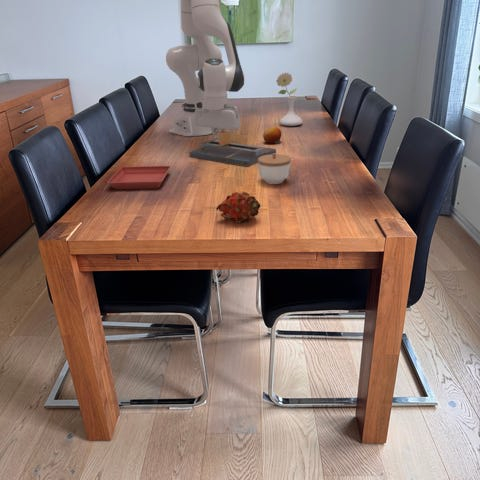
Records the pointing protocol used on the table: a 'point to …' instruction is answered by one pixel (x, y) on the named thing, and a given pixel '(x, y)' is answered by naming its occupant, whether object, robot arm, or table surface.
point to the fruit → (272, 135)
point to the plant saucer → (139, 177)
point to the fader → (225, 138)
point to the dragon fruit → (239, 207)
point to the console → (230, 153)
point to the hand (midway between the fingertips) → (218, 139)
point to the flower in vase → (290, 117)
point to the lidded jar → (274, 168)
